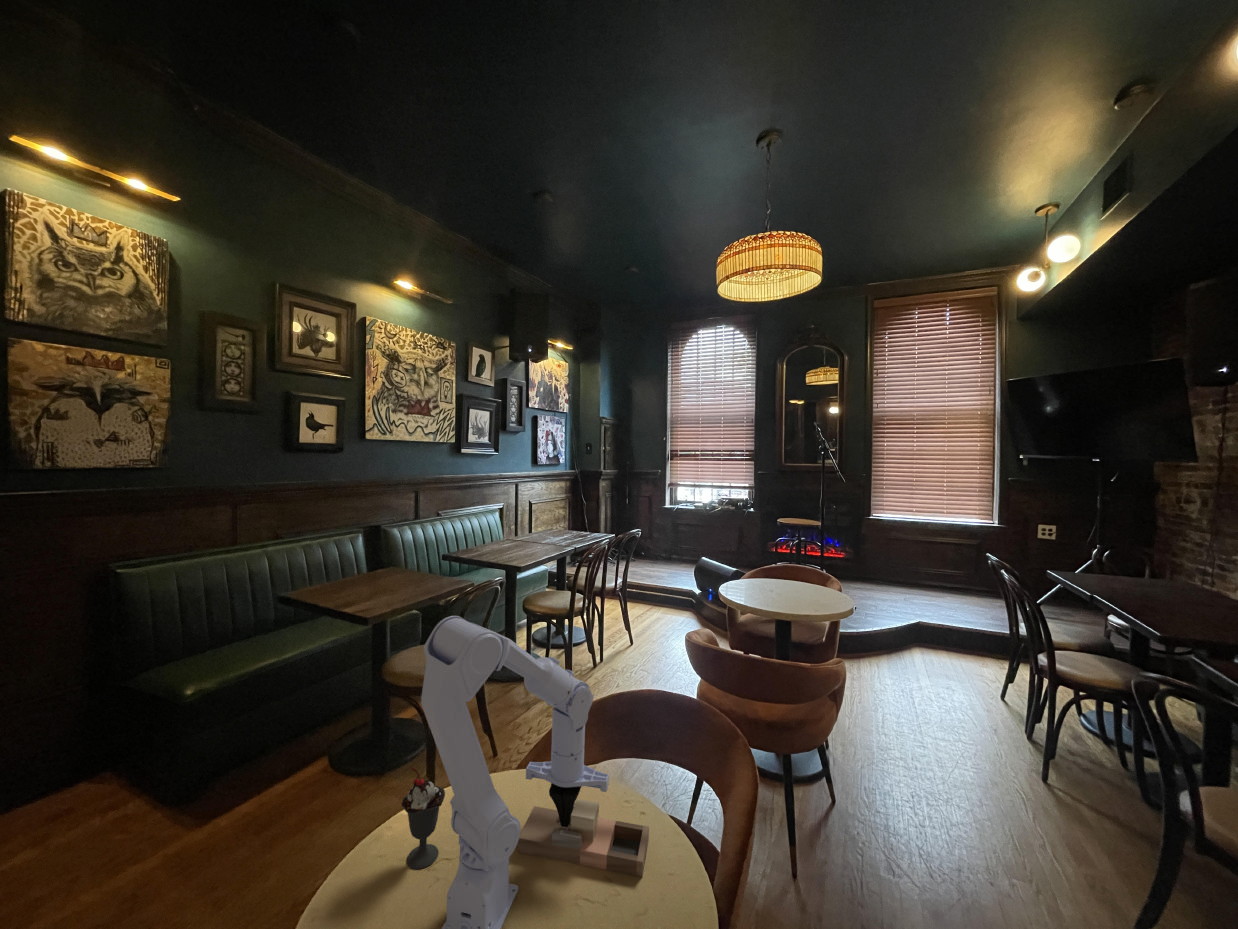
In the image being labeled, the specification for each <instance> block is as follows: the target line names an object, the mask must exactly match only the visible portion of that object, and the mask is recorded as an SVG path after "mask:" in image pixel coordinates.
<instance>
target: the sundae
mask: <svg viewBox="0 0 1238 929" xmlns="http://www.w3.org/2000/svg"><path fill="white" fill-rule="evenodd" d="M411 770H412V771H414V772H415V773H416V775H417V777H416V778H415V779H414V780H413V782H412V784H413V785H412V786H411V788H410V789H409V790H408V793H407V794H406V795H405V796H404V797H403V798H402V802H401V807H403V809H404V811H405V812H406V813H407V817H408V827H409V831H410V833H411V836H412V837H413V838H415V839H416V840H419V844H418V846H416V847H415V848H413V849H412V850H411V851H410V852H409V854H408V855H407V857H406V864H407V866H408V867H409V868H410V869H413V870H414V869H415V870H421V869H425V868H427V867H429V866H431V865H432V864H434V863H435V861H436V860H437V859H438V857H439V849H438V847H437V846H436V845H434V844H432V843H431V844H430V843H428V838H429V837H430V836H431V835H432V834H433V833H434V832H435V830H436V827H437V823H438V818H439V811H440V807H441V806H442V804H443V802H444V800H445V797H446V791H445V789H444V788H443V787H441V786H439V785H435V784H434V783H433V782H432V781H430V780H428V779H423V778H421V777H420V773H419V772H418V770H416V767H411Z"/></svg>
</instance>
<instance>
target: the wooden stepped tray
mask: <svg viewBox="0 0 1238 929" xmlns="http://www.w3.org/2000/svg"><path fill="white" fill-rule="evenodd" d="M575 804H576V802H575V803H574V806H575ZM574 806H573V809H574ZM573 809H572V811H573ZM570 830H571V820H570V823H569V825H568V827H562V826H561V824H560V819H559V815H558V811H557V809H551V808H546V807H540V806H535V805H533V808H532V810H531V811H530V813H529V815H528V817H527V819H526V821H525V822H524V825H523V827H522V828H521V831H520V837H519V840H518V843H517V853H519V854H520V853H521V854H525V855H530V856H536V857H540V858H545V859H550V860H555V861H561V862H565V863H571V864H574V865H575V864H576V865H580V866H586V867H589V868H590V867H591V868H595V869H599V870H605V871H610V872H614V873H615V872H616V873H621V874H625V875H631V876H635V877H640V878H643V876H644V870H645V864H646V857H647V852H648V846H649V841H650V826H646V825H642V824H641V825H640V824H636V823H631V822H630V823H629V822H625V821H619V820H614V819H607V818H603V817H599V821H598V828H597V831H596V834H595V837H594V841H593V842H589V841H583V840H582V833H577V832H572V831H570Z"/></svg>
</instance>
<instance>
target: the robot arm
mask: <svg viewBox="0 0 1238 929" xmlns="http://www.w3.org/2000/svg"><path fill="white" fill-rule="evenodd" d="M423 652H424V656H425V661H426V662H425V670H424V677H423V683H422V689H421V690H422V691H421V698H420V700H421V707H422V710H423V712H424V716H425V718H426V721H427V724H428V727H429V728H430V731H431V734H432V737H433V740H434V743H435V746H436V748H437V752H438V754H439V757H440V759H441V762H442V765H443V768H444V771H445V773H446V776H447V778H448V781H449V784H450V787H451V789H452V793H453V796H452V797H451V799H450V801H449V803H450V806H451V819H450V826H451V829H452V831H453V833H455V834H457V835H458V845H459V860H458V866H457V870H456V874H455V877H454V878H453V880H452V882H451V885H450V886H449V888H448V891H447V895H446V920H445V922H444V924H443V926H442V927H441V929H502V927H503V925H504V922H505V920H506V918H507V916H508V913H509V911H510V908H511V906H512V905H513V902H514V900H515V898H516V896H517V893H518V891H519V886H518V885H517V884H513V883H510V880H509V878H510V857H511V855H512V854H513V853H514V851H515V849H516V847H517V846H518V840H519V837H520V833H521V831H522V827H521V822H520V820H519V819H518V818H517V817H516V816H514V815H513V814H511V813H510V810H509V808H508V805H507V804H506V803H505V801H504V799H502V797H501V796H500V794H499V793H498V791H497V790H496V788H495V786H494V783H493V780H492V777H491V774H490V773H491V772H489V771H490V770H489V768H488V764H487V761H486V759H485V756H484V753H483V749H482V747H481V744H480V741H479V738H478V734H477V731H476V729H475V726H474V722H473V720H472V717H471V714H470V710H469V707H468V705H467V702H470V701H471V700H473V698H474V697H475V696H476V695H477V693H478V692H479V690H480V689H481V688H482V687H483V685H484V684H485V682H486V681H487V680H488V678H489V677H490V676H491V675H492V673H493V672H494V671H496V672H499V671H501V670H502V667H503V666H504V667H506V668H507V669H508V670H511V671H512V672H514V673H516V674H518V675H520V676H521V677H522V678H523V682H524V683H523V684H524V687H525V689H526V690H527V691H528V692H529V693H530V694H533V695H534V696H536V697H537V698H539V699H540V700H542V701H544V702H545V703H546V704H547V706H552V712H551V713H552V722H551V754H550V761H543V762H541V761H537V762H536V761H534V762H533V761H529V763H528V765H526V768H525V779H526V780H530V781H531V780H532V779H533V778H534V779H541V780H545V781H546V782H549V783H550V787H549V790H548V793H549V794H548V795H549V797H550V798H551V800H552V801H553V803H554V806H555V808H556V810H557V811H558V815H559V819H560V824H561V826H562V827H568V825H569V823H570V820H571V814H572V809H573V806H574V803H576V801H577V799H578V797H579V794H580V792H581V789H582V787H589V788H593V789H600V792H602V793H607V791H608V788H609V786H610V785H609V784H610V774H609V773H606V772H601V771H598V770H596V769H594V768H592V767H590V766H587V765H585V740H586V739H585V737H586V734H585V732H586V724H587V721H588V720H589V712H590V709H591V707H592V705H593V701H594V694H593V692H592V691H591V690H592V689H591V688H590V685H589V684H588V683H587V682H584V681H583V680H581V679H578V678H576V677H575V673H574V671H572V670H570V669H564V668H563V667H562V666H560V663H561V662H560V660H559V659H557V658H555V657H553V656H549V657H545V656H543V657H541V656H540V657H537V658H535V657H533V656H532V655H531V654H530V653H528V652H527V651H526V650H524V648H522V647H521V646H520V645H519V644H517V643H516V642H514V641H513V640H512V639H510V638H508V637H506V636H504V635H501V634H500V633H498V632H495V631H493V630H491V629H488V628H486V627H483V626H480V625H479V624H477V623H475V622H469V621H467V620H466V619H464V618H463V617H461V616H459V615H450V616H447V617H445V618H443V619H442V620H440V621H439V622H438V623H437V624H436V625H435V627H434V628H433V630H432V631H431V633H430V635H429V636H428V638H427V640H426V642H425V644H424V645H423Z"/></svg>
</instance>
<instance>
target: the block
mask: <svg viewBox="0 0 1238 929" xmlns="http://www.w3.org/2000/svg"><path fill="white" fill-rule="evenodd" d="M575 803H576V804H575V806H574V809H573V811H572V814H571V830H570V831H572V832H577V833H582V840H583V841H589V842H593V841H594V837H595V834H596V831H597V828H598V821H599V818H600V817H599V816H600V802H598V801H592V800H587V799H581V798H577V799H576V801H575Z"/></svg>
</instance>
